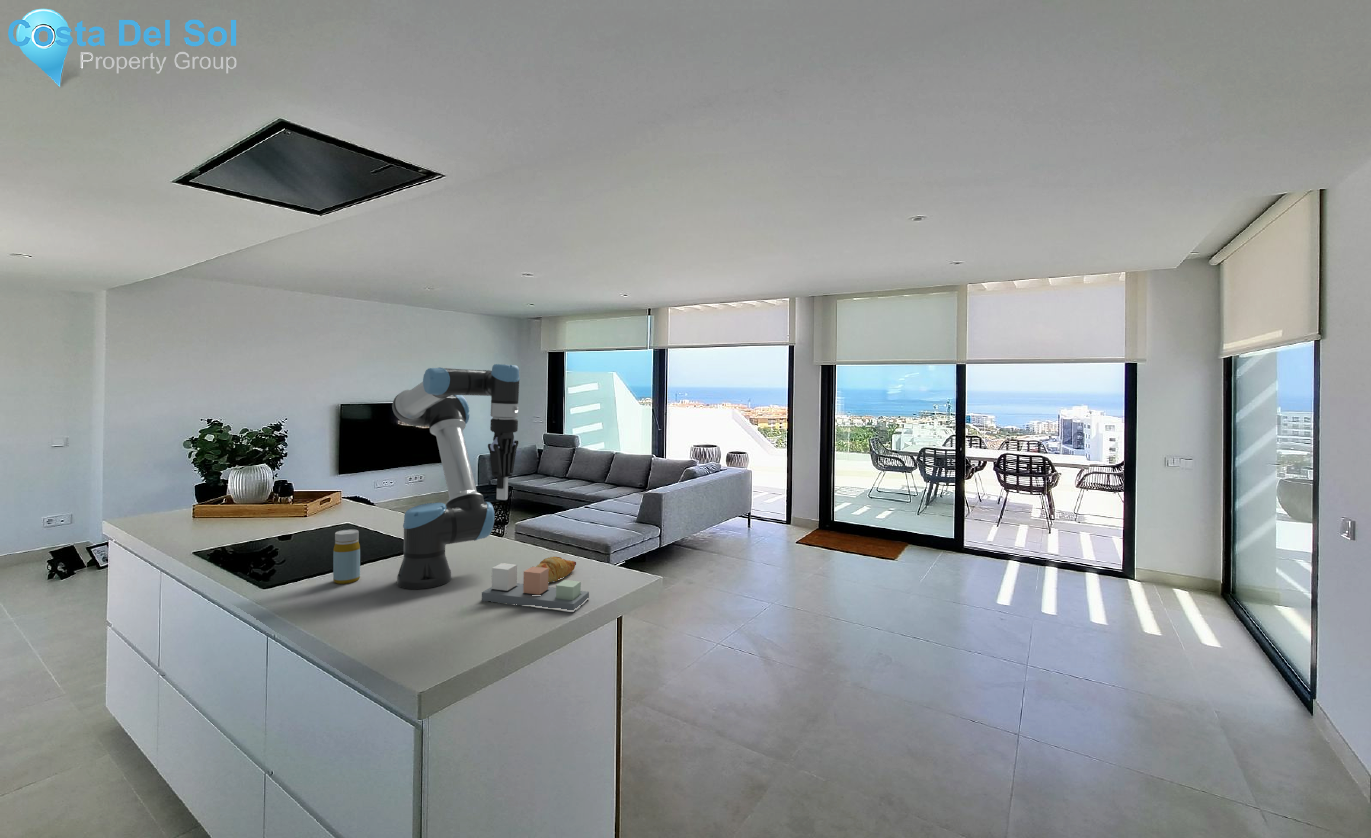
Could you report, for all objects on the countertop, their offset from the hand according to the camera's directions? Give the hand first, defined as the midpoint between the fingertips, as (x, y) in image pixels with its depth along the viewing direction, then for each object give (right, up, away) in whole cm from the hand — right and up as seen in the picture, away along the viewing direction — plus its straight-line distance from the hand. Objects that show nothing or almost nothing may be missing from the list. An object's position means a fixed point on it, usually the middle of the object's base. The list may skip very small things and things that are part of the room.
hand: (502, 499), depth 166 cm
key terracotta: (+11, -25, -4) cm, 28 cm away
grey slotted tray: (+11, -28, -4) cm, 30 cm away
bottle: (-50, -26, +8) cm, 57 cm away
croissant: (+10, -28, +16) cm, 34 cm away
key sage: (+21, -29, -7) cm, 36 cm away
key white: (+1, -25, -2) cm, 25 cm away
